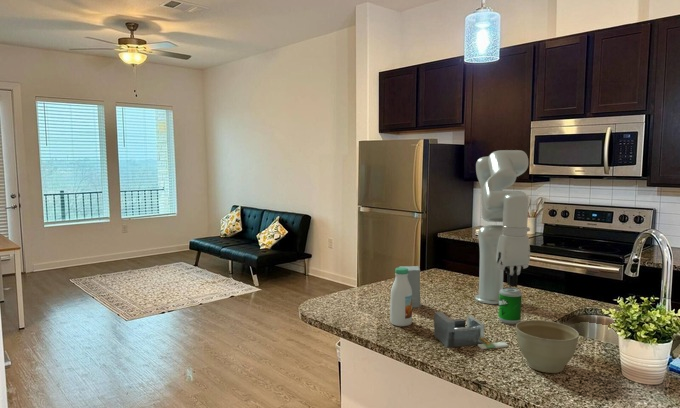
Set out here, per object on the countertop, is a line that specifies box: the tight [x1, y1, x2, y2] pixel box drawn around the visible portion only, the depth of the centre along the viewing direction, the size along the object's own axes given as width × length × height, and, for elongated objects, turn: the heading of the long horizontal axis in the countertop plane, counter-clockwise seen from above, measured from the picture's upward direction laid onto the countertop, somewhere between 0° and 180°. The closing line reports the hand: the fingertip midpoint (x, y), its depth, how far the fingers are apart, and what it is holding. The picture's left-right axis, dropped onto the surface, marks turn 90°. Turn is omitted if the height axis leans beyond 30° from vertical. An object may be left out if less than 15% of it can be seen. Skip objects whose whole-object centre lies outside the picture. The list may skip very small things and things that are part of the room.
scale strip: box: [477, 341, 509, 350], centre depth 144 cm, size 9×2×1 cm, turn 102°
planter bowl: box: [515, 319, 580, 374], centre depth 129 cm, size 16×16×11 cm
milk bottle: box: [389, 266, 413, 327], centre depth 164 cm, size 8×8×20 cm
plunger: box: [455, 314, 491, 345], centre depth 147 cm, size 9×13×6 cm
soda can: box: [498, 286, 523, 325], centre depth 166 cm, size 8×8×12 cm
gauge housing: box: [433, 311, 479, 348], centre depth 148 cm, size 10×10×8 cm
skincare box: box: [398, 265, 421, 309], centre depth 184 cm, size 8×7×16 cm
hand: (512, 285), depth 152 cm, fingers closed
